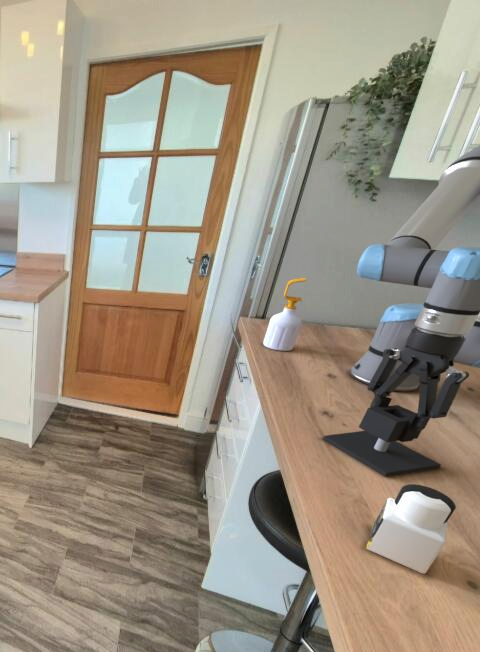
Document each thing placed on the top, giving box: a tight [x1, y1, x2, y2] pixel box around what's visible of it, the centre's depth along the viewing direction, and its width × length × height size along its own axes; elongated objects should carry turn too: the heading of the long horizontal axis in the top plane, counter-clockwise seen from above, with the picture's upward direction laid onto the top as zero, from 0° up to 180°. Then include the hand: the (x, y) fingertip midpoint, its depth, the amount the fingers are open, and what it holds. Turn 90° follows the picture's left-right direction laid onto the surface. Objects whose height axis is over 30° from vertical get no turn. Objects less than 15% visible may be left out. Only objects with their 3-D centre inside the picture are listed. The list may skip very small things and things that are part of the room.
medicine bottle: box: [366, 483, 457, 575], centre depth 69 cm, size 7×7×12 cm
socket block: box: [358, 404, 423, 442], centre depth 92 cm, size 8×6×5 cm
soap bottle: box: [262, 277, 307, 352], centre depth 148 cm, size 9×9×25 cm
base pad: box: [322, 430, 442, 477], centre depth 94 cm, size 14×14×6 cm
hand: (388, 431), depth 93 cm, fingers closed on socket block, 6 cm apart
